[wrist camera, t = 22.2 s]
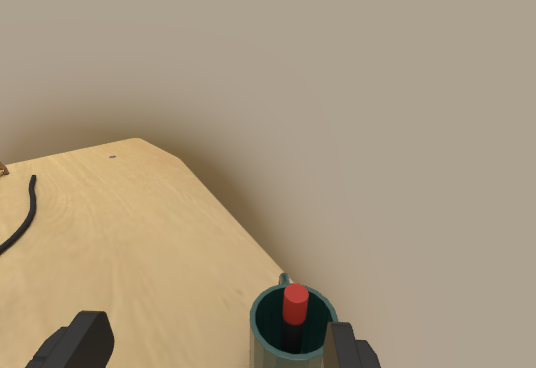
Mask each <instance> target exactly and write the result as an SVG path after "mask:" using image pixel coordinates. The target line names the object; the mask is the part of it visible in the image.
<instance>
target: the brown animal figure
mask: <svg viewBox="0 0 536 368" xmlns="http://www.w3.org/2000/svg"><path fill="white" fill-rule="evenodd" d="M0 170H4V172H3V174H8V173H9V172H8V170H7V168H6V166H5V165H2V164H1V162H0Z"/></svg>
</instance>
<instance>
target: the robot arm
mask: <svg viewBox="0 0 536 368" xmlns="http://www.w3.org/2000/svg"><path fill="white" fill-rule="evenodd" d="M35 180H36V175H32V177H31V180H30V183H29V194H30V211H29V213H28V216H27V218H26V219H25V221H24V222H23V224H22V225H21V226H20V228H19V229H18V230H17V231H16V232H15V233H14V234H13V235H12V236H11V237H10V238H9V239H8V240H7V241H5V242H4V243H3V244H2V245H0V253H1V252H2V251H3V250H4V249H6V248H7V247H8V246H9V245H11V244H12V243H13V242H14V241H15V240H16V239H17V238H18V237H19V236H20V235H21V234H22V233H23V231H24V230H25V229H26V228H27V227H28V225H29V224H30V222H31V220H32V218H33V216H34V214H35V209H36V198H35V193H34V183H35ZM113 348H114V336H113V332H112V329H111V326H110V323H109V320H108V317H107V314H106V312H104V311H81V312H79V313H78V314H77V315H76V317H75V318H74V319H73V321H72V322H71V324H70V325H69V326H68V327H61V328H60V329H59V330H57V331H56V332H55V333H54V334H53V335H51V336H50V337H49V338H48V339H47V340H45V342H44V343H43V344H42V346H41V347H40V348H39V350H38V351H37V352H36V354H35V355H34V356H33V359H32V360H30V362H29V363H28V364H27V366H26V367H25V368H105V367H106V365H107V363H108V361H109V359H110V357H111V355H112V352H113ZM323 366H324V368H381V367H380V363H379V360H378V357H377V355H376V353H375V352H374V351H373V349H372V348H371V347H370V345H369V344H368V342H367V341H366V340H355V337H354V333H353V329H352V326H351V324H350V323H348V322H328V325H327V331H326V336H325V341H324V346H323Z"/></svg>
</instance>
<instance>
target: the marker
mask: <svg viewBox="0 0 536 368" xmlns="http://www.w3.org/2000/svg"><path fill="white" fill-rule="evenodd" d="M308 297H309V293H308V290H307V289H306V288H305V287H304V286H302V285H300V284H291V285H289V286H287V287H286V288H285V291H284V302H283V329H282V342H281V351H283V352H286V353H290V354H300V352H301V344H302V336H303V328H304V321H305V319H306V312H307V305H308Z"/></svg>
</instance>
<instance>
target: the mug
mask: <svg viewBox="0 0 536 368" xmlns="http://www.w3.org/2000/svg"><path fill="white" fill-rule="evenodd" d="M293 284H294V283H293ZM289 285H291V284H290V282H289V276H288V274H286V273H281V274H280V276H279V285H276V286H273V287H270V288H269V289H267V290H265V291H264V292H262V293H261V294H260V295H259V296H258V297H257V299H256V300H255V301H254V303H253V305H252V308H251V311H250V368H324V366H323V346H324V341H325V336H326V331H327V325H328V322H338V318H337V315H336V312H335V309H334V308H333V306H332V305H331V304H330V302H329V301H328V299H327V298H325V297H324V296H322V294H320V293H319V292H318V291H316V290H314V289H312V288H310V287H307V286H304V285H302V286H304V287H305V288H306V289H307V290H308V293H309V297H308V305H307V312H306V319H305V321H304V328H303V336H302V344H301V352H300V354H290V353H286V352H283V351H281V342H282V329H283V302H284V291H285V288H286V287H287V286H289Z"/></svg>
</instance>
